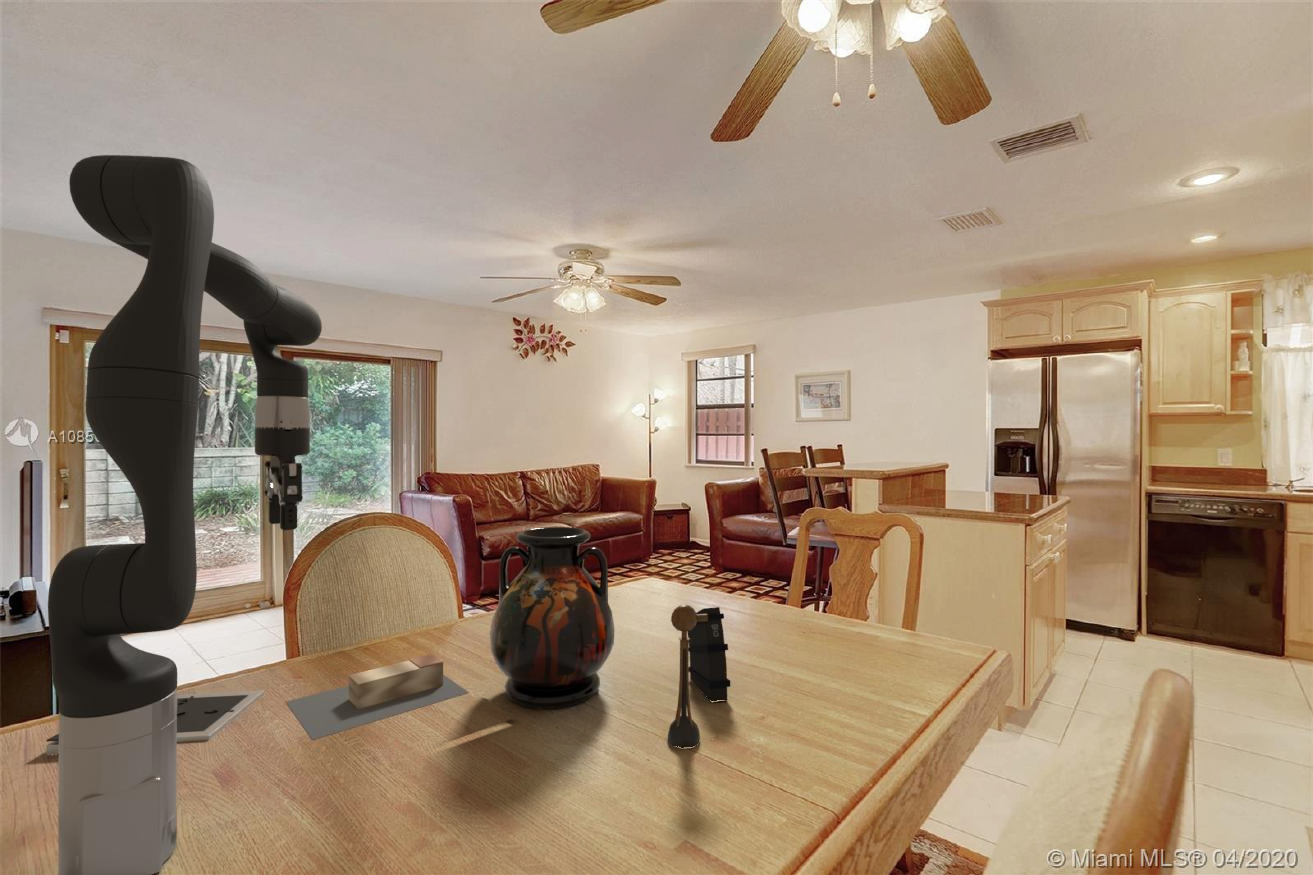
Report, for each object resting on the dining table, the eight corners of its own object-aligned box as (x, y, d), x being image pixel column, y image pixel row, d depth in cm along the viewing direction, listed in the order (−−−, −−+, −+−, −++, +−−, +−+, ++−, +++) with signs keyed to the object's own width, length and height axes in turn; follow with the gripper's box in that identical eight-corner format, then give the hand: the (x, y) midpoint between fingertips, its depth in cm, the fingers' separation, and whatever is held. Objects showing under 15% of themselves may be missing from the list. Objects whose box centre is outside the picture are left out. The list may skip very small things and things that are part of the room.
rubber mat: (469, 697, 103) (469, 692, 103) (312, 745, 87) (312, 739, 87) (429, 669, 116) (429, 664, 116) (285, 706, 100) (285, 701, 100)
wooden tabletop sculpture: (702, 731, 92) (703, 599, 92) (710, 746, 87) (711, 608, 87) (664, 734, 91) (665, 601, 91) (670, 750, 86) (671, 610, 86)
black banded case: (716, 702, 98) (702, 608, 104) (691, 706, 109) (680, 621, 116) (737, 699, 99) (722, 606, 105) (710, 703, 110) (698, 619, 117)
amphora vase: (471, 718, 96) (472, 542, 96) (509, 667, 117) (509, 522, 117) (607, 721, 95) (608, 543, 95) (619, 668, 116) (620, 523, 116)
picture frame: (46, 760, 84) (209, 750, 87) (46, 740, 84) (209, 730, 87) (128, 709, 100) (264, 702, 103) (128, 692, 100) (264, 686, 103)
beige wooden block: (358, 709, 97) (358, 683, 97) (348, 699, 101) (348, 674, 101) (443, 685, 106) (443, 661, 106) (431, 676, 110) (431, 653, 110)
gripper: (247, 425, 100) (246, 524, 100) (264, 424, 89) (264, 534, 89) (298, 426, 105) (298, 519, 105) (320, 425, 94) (320, 529, 94)
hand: (282, 526), depth 97 cm, fingers open, 8 cm apart
